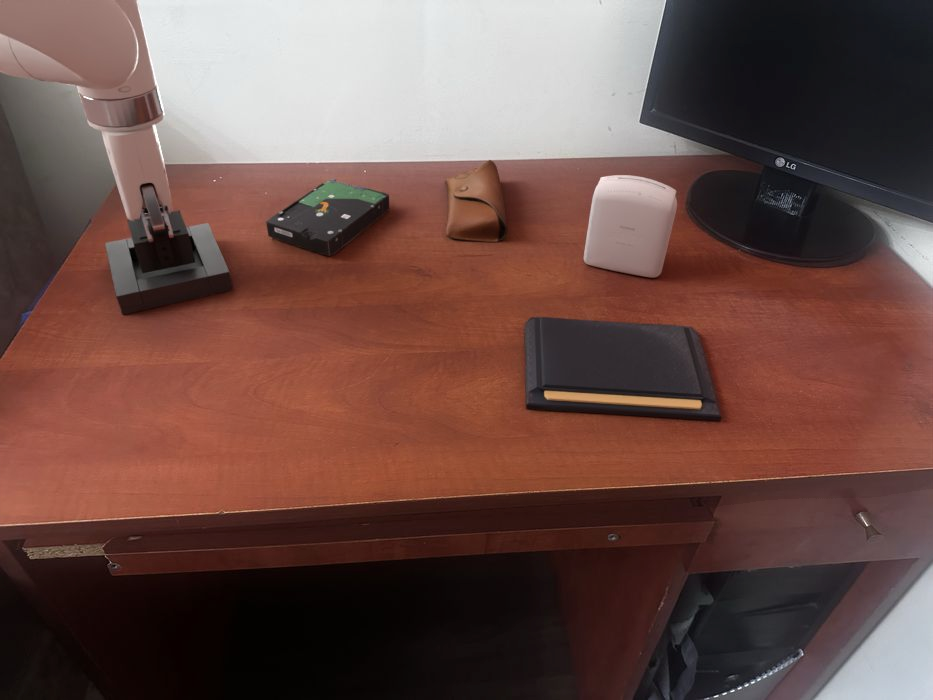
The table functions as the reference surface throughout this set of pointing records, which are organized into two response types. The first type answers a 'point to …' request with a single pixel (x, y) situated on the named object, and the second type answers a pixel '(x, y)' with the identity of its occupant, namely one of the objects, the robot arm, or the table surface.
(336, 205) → the disk drive
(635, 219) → the photo printer
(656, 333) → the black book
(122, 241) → the docking pad
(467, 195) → the sunglasses case
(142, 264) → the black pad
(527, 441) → the table surface
